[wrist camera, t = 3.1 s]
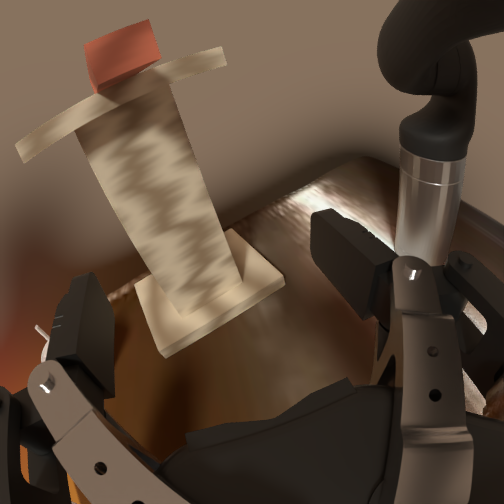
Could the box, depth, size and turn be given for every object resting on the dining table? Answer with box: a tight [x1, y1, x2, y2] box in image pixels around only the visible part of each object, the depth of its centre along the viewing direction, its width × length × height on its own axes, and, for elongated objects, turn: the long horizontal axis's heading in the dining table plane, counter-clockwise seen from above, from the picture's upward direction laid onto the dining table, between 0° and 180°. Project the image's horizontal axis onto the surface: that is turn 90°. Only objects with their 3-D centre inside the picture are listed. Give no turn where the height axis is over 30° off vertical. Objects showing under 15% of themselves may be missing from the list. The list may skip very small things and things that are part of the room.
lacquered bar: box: [84, 19, 161, 94], centre depth 20 cm, size 4×26×2 cm, turn 31°
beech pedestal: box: [15, 47, 285, 358], centre depth 34 cm, size 20×16×32 cm
